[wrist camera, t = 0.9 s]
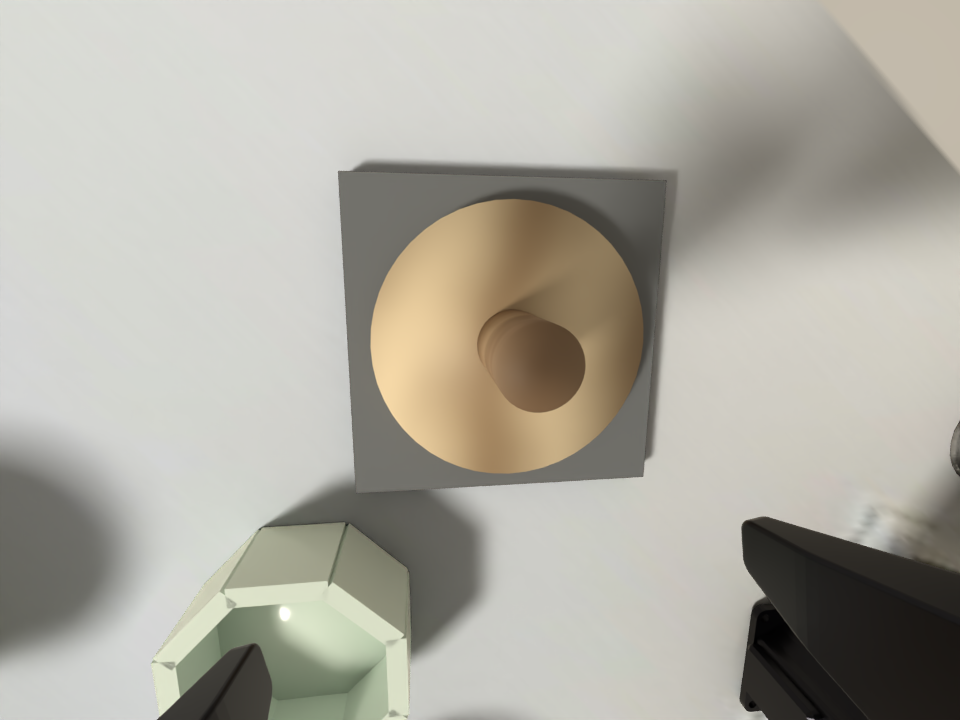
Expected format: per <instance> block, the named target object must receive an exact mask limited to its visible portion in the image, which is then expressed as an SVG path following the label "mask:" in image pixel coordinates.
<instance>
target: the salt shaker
mask: <svg viewBox="0 0 960 720" xmlns="http://www.w3.org/2000/svg"><path fill="white" fill-rule="evenodd" d="M950 456H951V461H952V466H953V467H954V469H955V471H956V473H957V474H958V475H959V476H960V422H959V424H958V426H957V427H956V429H955V431H954V435H953V438H952V441H951V450H950Z"/></svg>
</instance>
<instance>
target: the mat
mask: <svg viewBox="0 0 960 720" xmlns="http://www.w3.org/2000/svg"><path fill="white" fill-rule="evenodd" d="M338 179H339V197H340V215H341V233H342V251H343V269H344V287H345V306H346V324H347V342H348V360H349V378H350V396H351V414H352V432H353V450H354V468H355V486H356V493H371V492H388V491H406V490H423V489H440V488H458V487H475V486H492V485H510V484H527V483H544V482H562V481H579V480H596V479H614V478H631V477H643V473H644V460H645V447H646V435H647V422H648V409H649V397H650V384H651V371H652V359H653V346H654V333H655V321H656V308H657V295H658V283H659V270H660V257H661V244H662V232H663V219H664V206H665V194H666V180H632V179H598V178H563V177H529V176H495V175H460V174H426V173H392V172H357V171H338ZM504 199H520V200H531V201H536V202H541V203H545V204H549V205H553V206H555V207H558V208H560V209H563V210H565V211H568V212H570V213H572V214H573V215H575V216H577V217H579V218H581V219H582V220H584V221H586V222H587V223H588V224H589V225H591V226H592V227H593V228H595V229H596V230H597V231H599V232H600V233H601V234H602V235H603V236H604V237H605V238H606V239H607V240H608V241H609V242H610V243H611V244H612V246H613V247H614V248H615V250H616V251H617V252H618V254H619V255H620V256H621V258H622V259H623V261H624V263H625V265H626V266H627V268H628V270H629V272H630V274H631V276H632V279H633V281H634V284H635V286H636V289H637V292H638V296H639V300H640V304H641V308H642V317H643V347H642V354H641V360H640V364H639V368H638V372H637V376H636V378H635V381H634V383H633V386H632V388H631V391H630V393H629V395H628V396H627V398H626V400H625V402H624V404H623V406H622V407H621V409H620V410H619V411H618V413H617V414H616V416H615V417H614V418H613V420H612V421H611V422H610V423H609V424H608V426H607V427H606V428H605V429H604V430H603V431H602V432H601V433H600V434H599V435H598V436H597V437H596V438H594V439H593V440H592V441H591V442H590V443H589V444H588V445H586V446H585V447H583V448H582V449H580V450H579V451H577V452H576V453H574V454H573V455H571V456H569V457H567V458H565V459H563V460H561V461H559V462H557V463H554V464H551V465H549V466H546V467H543V468H539V469H535V470H531V471H527V472H519V473H510V474H506V473H486V472H479V471H474V470H470V469H466V468H462V467H459V466H457V465H454V464H452V463H449V462H447V461H444V460H443V459H441V458H439V457H437V456H436V455H434V454H432V453H430V452H429V451H427V450H426V449H425V448H423V447H422V446H421V445H419V444H418V443H417V442H416V441H415V440H414V439H413V438H412V437H411V436H410V435H409V434H408V433H407V432H406V431H404V430H403V428H402V427H401V426H400V424H399V423H398V422H397V420H396V419H395V418H394V417H393V415H392V413H391V412H390V410H389V408H388V406H387V405H386V403H385V401H384V399H383V397H382V394H381V392H380V389H379V387H378V384H377V381H376V377H375V373H374V369H373V365H372V356H371V348H370V346H371V325H372V318H373V312H374V308H375V304H376V301H377V298H378V294H379V291H380V289H381V287H382V285H383V282H384V280H385V278H386V276H387V274H388V272H389V271H390V269H391V267H392V266H393V264H394V263H395V261H396V260H397V258H398V257H399V255H400V254H401V253H402V252H403V251H404V249H405V248H406V247H407V246H408V245H409V244H410V242H411V241H413V240H414V239H415V238H416V237H417V236H418V235H419V234H420V233H421V232H423V231H424V230H425V229H426V228H428V227H429V226H431V225H432V224H433V223H435V222H436V221H438V220H439V219H441V218H443V217H445V216H447V215H449V214H451V213H453V212H455V211H457V210H459V209H462V208H465V207H468V206H471V205H474V204H477V203H482V202H487V201H493V200H504Z"/></svg>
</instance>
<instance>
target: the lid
mask: <svg viewBox="0 0 960 720" xmlns="http://www.w3.org/2000/svg"><path fill="white" fill-rule="evenodd" d="M642 347H643V317H642V308H641V304H640V300H639V296H638V292H637V289H636V286H635V284H634V281H633V279H632V276H631V274H630V272H629V270H628V268H627V266H626V265H625V263H624V261H623V259H622V258H621V256H620V255H619V254H618V252H617V251H616V250H615V248H614V247H613V246H612V244H611V243H610V242H609V241H608V240H607V239H606V238H605V237H604V236H603V235H602V234H601V233H600V232H599V231H597V230H596V229H595V228H593V227H592V226H591V225H589V224H588V223H587V222H586V221H584V220H582V219H581V218H579V217H577V216H575V215H573V214H572V213H570V212H568V211H565V210H563V209H560V208H558V207H555V206H553V205H549V204H545V203H541V202H536V201H531V200H520V199H504V200H493V201H487V202H482V203H477V204H474V205H471V206H468V207H465V208H462V209H459V210H457V211H455V212H453V213H451V214H449V215H447V216H445V217H443V218H441V219H439V220H438V221H436V222H435V223H433V224H432V225H431V226H429V227H428V228H426V229H425V230H424V231H423V232H421V233H420V234H419V235H418V236H417V237H416V238H415V239H414V240H413V241H411V242H410V244H409V245H408V246H407V247H406V248H405V249H404V251H403V252H402V253H401V254H400V255H399V257H398V258H397V260H396V261H395V263H394V264H393V266H392V267H391V269H390V271H389V272H388V274H387V276H386V278H385V280H384V282H383V285H382V287H381V289H380V291H379V294H378V298H377V301H376V304H375V308H374V312H373V318H372V325H371V346H370V348H371V356H372V365H373V369H374V373H375V377H376V381H377V384H378V387H379V389H380V392H381V394H382V397H383V399H384V401H385V403H386V405H387V406H388V408H389V410H390V412H391V413H392V415H393V417H394V418H395V419H396V420H397V422H398V423H399V424H400V426H401V427H402V428H403V430H404V431H406V432H407V433H408V434H409V435H410V436H411V437H412V438H413V439H414V440H415V441H416V442H417V443H418V444H419V445H421V446H422V447H423V448H425V449H426V450H427V451H429V452H430V453H432V454H434V455H436V456H437V457H439V458H441V459H443V460H444V461H447V462H449V463H452V464H454V465H457V466H459V467H462V468H466V469H470V470H474V471H479V472H486V473H506V474H510V473H519V472H527V471H531V470H535V469H539V468H543V467H546V466H549V465H551V464H554V463H557V462H559V461H561V460H563V459H565V458H567V457H569V456H571V455H573V454H574V453H576V452H577V451H579V450H580V449H582V448H583V447H585V446H586V445H588V444H589V443H590V442H591V441H592V440H593V439H594V438H596V437H597V436H598V435H599V434H600V433H601V432H602V431H603V430H604V429H605V428H606V427H607V426H608V424H609V423H610V422H611V421H612V420H613V418H614V417H615V416H616V414H617V413H618V411H619V410H620V409H621V407H622V406H623V404H624V402H625V400H626V398H627V396H628V395H629V393H630V391H631V388H632V386H633V383H634V381H635V378H636V376H637V372H638V368H639V364H640V360H641V354H642Z"/></svg>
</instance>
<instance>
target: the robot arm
mask: <svg viewBox="0 0 960 720" xmlns="http://www.w3.org/2000/svg"><path fill="white" fill-rule="evenodd" d="M741 530H742V547H743V560H744V564H745V566H746V568H747V570H748V572H749V573H750V575H751V576H752V577H753V579H754V580H755V581H756V583H757V584H758V585H759V587H760V588H761V589H762V591H763V592H764V593H765V595H766V596H767V597H768V599H769V600H770V601H771V603H772V604H763V605H758V606H756V607H755V608H754V609H753V610H752V613H751V620H750V627H749V635H748V642H747V649H746V656H745V664H744V671H743V678H742V685H741V693H740V702H741V704H742V705H743V707H744V708H745V709H746V710H747V711H749V712H753V711H762V712H763V713H764V714H765V716H766V717H767V718H768V720H960V574H958V573H954V572H951V571H948V570H944V569H941V568H938V567H934V566H931V565H927V564H924V563H921V562H917V561H914V560H911V559H907V558H904V557H900V556H897V555H894V554H890V553H887V552H884V551H880V550H877V549H874V548H870V547H867V546H863V545H860V544H857V543H853V542H850V541H847V540H843V539H840V538H836V537H833V536H830V535H826V534H823V533H820V532H816V531H813V530H810V529H806V528H803V527H799V526H796V525H793V524H789V523H786V522H783V521H779V520H776V519H772V518H769V517H758V518H754V519H750V520H746V521H745V522H743V524H742V529H741ZM271 699H272V680H271V677H270V674H269V671H268V668H267V665H266V662H265V659H264V656H263V653H262V650H261V648H260V646H259V645H258V644H256V643H250V644H246V645H242V646H238V647H234V648H232V649H230V650H229V651H228V652H227V653H226V654H225V655H224V656H223V657H222V658H221V659H220V660H219V661H217V662H216V663H215V664H214V665H213V666H212V667H211V668H210V669H209V670H208V671H207V672H206V673H205V674H204V675H203V676H202V677H201V678H200V679H199V680H198V681H197V682H196V683H195V684H194V685H193V686H191V687H190V688H189V689H188V690H187V691H186V692H185V693H184V694H183V695H182V696H181V697H180V698H179V699H178V700H177V701H176V702H175V703H174V704H173V705H172V706H171V707H170V708H169V709H168V710H166V711H165V712H164V713H163V714H162V715H161V716H160V717H159V718H158V719H157V720H268V716H269V710H270V705H271Z"/></svg>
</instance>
